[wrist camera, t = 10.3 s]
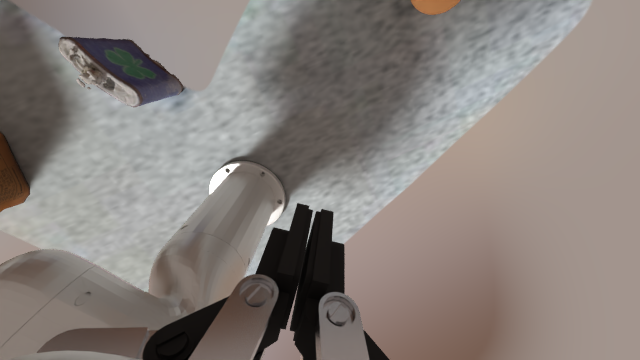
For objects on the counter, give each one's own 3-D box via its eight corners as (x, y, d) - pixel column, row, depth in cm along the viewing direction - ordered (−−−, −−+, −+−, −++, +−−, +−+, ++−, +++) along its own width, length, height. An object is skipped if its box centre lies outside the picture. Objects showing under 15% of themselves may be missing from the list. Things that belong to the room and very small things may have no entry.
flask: (187, 84, 36) (130, 99, 27) (177, 100, 37) (120, 120, 28) (125, 33, 34) (39, 29, 24) (117, 51, 35) (32, 55, 25)
